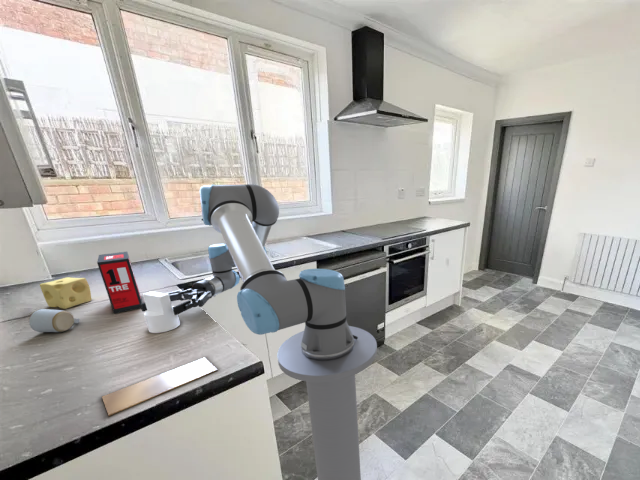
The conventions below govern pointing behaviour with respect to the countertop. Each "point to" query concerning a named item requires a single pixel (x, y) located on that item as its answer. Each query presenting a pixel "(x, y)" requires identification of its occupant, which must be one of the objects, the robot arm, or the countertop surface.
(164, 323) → the cylinder with rectangular tab
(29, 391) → the countertop surface
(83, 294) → the cheese
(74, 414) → the countertop surface
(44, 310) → the ceramic mug
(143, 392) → the tan rectangular plate
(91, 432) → the countertop surface
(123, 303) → the cleaning product box
